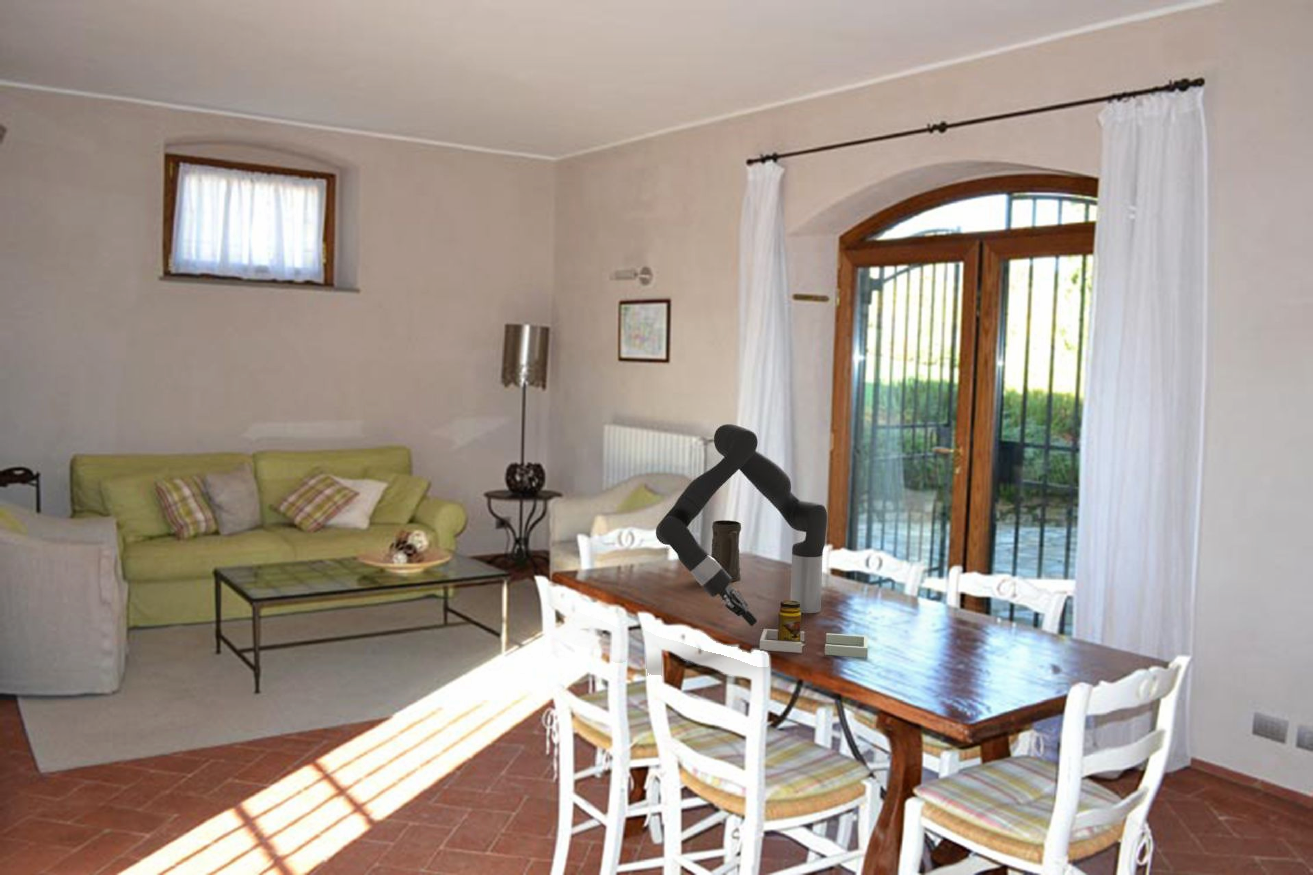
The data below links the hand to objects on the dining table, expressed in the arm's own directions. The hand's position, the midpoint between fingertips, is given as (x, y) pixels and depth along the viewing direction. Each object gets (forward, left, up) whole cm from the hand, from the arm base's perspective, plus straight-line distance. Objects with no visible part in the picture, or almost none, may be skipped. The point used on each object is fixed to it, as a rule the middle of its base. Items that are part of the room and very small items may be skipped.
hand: (754, 623), depth 300 cm
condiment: (0, +9, -6) cm, 10 cm away
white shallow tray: (0, +24, -5) cm, 24 cm away
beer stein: (-79, -16, -6) cm, 81 cm away
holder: (0, +9, -5) cm, 10 cm away
